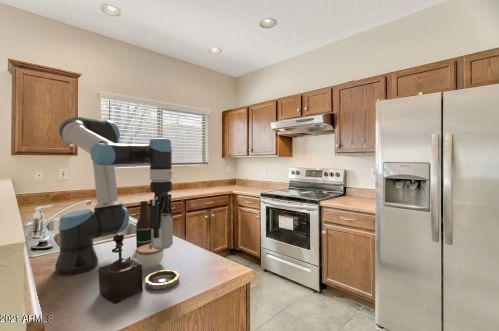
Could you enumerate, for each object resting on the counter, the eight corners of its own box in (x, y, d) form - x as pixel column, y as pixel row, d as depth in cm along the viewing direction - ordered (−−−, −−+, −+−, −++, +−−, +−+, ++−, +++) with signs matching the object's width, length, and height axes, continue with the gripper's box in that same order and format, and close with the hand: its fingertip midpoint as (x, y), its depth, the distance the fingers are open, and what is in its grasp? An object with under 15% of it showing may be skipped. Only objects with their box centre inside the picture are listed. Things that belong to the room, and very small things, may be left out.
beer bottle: (147, 245, 137) (146, 199, 136) (156, 248, 133) (155, 201, 132) (133, 249, 131) (132, 201, 130) (141, 252, 126) (141, 203, 125)
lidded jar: (168, 265, 112) (168, 243, 112) (144, 273, 104) (143, 250, 104) (156, 258, 119) (156, 238, 119) (132, 265, 112) (132, 244, 111)
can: (177, 246, 97) (176, 214, 97) (159, 252, 91) (158, 218, 91) (164, 242, 102) (164, 211, 101) (147, 247, 96) (146, 215, 95)
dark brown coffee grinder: (145, 290, 92) (144, 239, 91) (113, 304, 83) (112, 248, 82) (122, 277, 101) (121, 231, 100) (91, 289, 92) (90, 239, 91)
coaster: (139, 289, 92) (139, 284, 92) (154, 274, 103) (154, 269, 103) (172, 290, 91) (171, 285, 91) (182, 275, 103) (182, 270, 102)
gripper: (159, 183, 85) (160, 253, 86) (180, 178, 106) (181, 234, 106) (137, 183, 86) (138, 252, 87) (162, 178, 106) (163, 234, 107)
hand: (162, 242), depth 97 cm, fingers closed on can, 7 cm apart
